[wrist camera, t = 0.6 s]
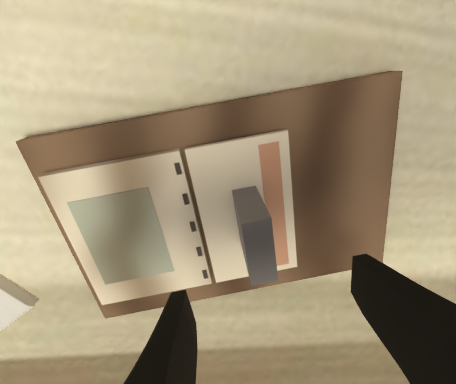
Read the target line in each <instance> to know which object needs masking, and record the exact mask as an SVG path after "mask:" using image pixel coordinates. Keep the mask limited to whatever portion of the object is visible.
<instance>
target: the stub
mask: <svg viewBox="0 0 456 384" xmlns="http://www.w3.org/2000/svg"><path fill="white" fill-rule="evenodd" d="M185 154H186V159H187V163H188V167H189V171H190V175H191V180H192V184H193V188H194V192H195V196H196V201H197V205H198V209H199V213H200V217H201V222H202V226H203V230H204V234H205V238H206V243H207V247H208V251H209V255H210V259H211V264H212V268H213V272H214V276H215V280H216V283H218V282H223V281H228V280H233V279H238V278H243V277H248V276H249V279H250V283H251V286H254V285H259V284H264V283H269V282H274V281H278V273H277V271H278V270H283V269H288V268H294V267H297V256H296V241H295V226H294V211H293V196H292V181H291V166H290V151H289V136H288V130H286V129H285V130H280V131H275V132H269V133H264V134H258V135H253V136H248V137H242V138H237V139H231V140H226V141H221V142H215V143H210V144H205V145H199V146H194V147H188V148H185Z"/></svg>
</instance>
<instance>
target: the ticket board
mask: <svg viewBox="0 0 456 384" xmlns="http://www.w3.org/2000/svg"><path fill="white" fill-rule="evenodd" d="M401 81H402V71H389V72H383V73H378V74H372V75H367V76H361V77H356V78H350V79H345V80H339V81H334V82H328V83H323V84H317V85H312V86H307V87H301V88H296V89H290V90H285V91H279V92H274V93H268V94H263V95H257V96H252V97H246V98H241V99H235V100H230V101H224V102H219V103H213V104H208V105H202V106H197V107H191V108H186V109H180V110H175V111H169V112H164V113H158V114H153V115H147V116H142V117H136V118H131V119H125V120H120V121H114V122H109V123H103V124H98V125H92V126H87V127H81V128H76V129H70V130H65V131H59V132H54V133H49V134H43V135H38V136H32V137H27V138H24V139H21V140H19V141H16V144H17V146H18V148H19V149H20V151H21V153H22V155H23V157H24V159H25V161H26V163H27V165H28V167H29V169H30V171H31V173H32V175H33V177H34V179H35V181H36V183H37V185H38V187H39V189H40V191H41V193H42V195H43V197H44V199H45V201H46V203H47V205H48V207H49V209H50V211H51V213H52V215H53V217H54V218H55V220H56V222H57V224H58V226H59V228H60V230H61V232H62V234H63V236H64V238H65V240H66V242H67V244H68V246H69V248H70V250H71V252H72V254H73V256H74V258H75V260H76V262H77V264H78V266H79V268H80V270H81V272H82V274H83V276H84V278H85V280H86V282H87V284H88V286H89V288H90V289H91V291H92V293H93V295H94V297H95V299H96V301H97V303H98V305H99V307H100V309H101V311H102V313H103V315H104V317H105V318H110V317H115V316H120V315H125V314H130V313H135V312H140V311H145V310H150V309H155V308H160V307H165V305H166V302H167V300H168V298H169V295H170V294H171V292H176V291H181V290H186V292H187V295H188V298H189V302H191V301H196V300H201V299H206V298H211V297H216V296H221V295H226V294H231V293H236V292H241V291H246V290H251V289H256V288H261V287H266V286H271V285H276V284H281V283H286V282H292V281H297V280H302V279H307V278H312V277H317V276H322V275H327V274H332V273H337V272H342V271H347V270H352V256H356V255H361V254H368V255H370V256H372V257H373V258H375V259H377V260H378V261H380V262H383V253H384V243H385V233H386V224H387V214H388V205H389V195H390V186H391V176H392V167H393V157H394V147H395V138H396V128H397V119H398V109H399V100H400V90H401ZM285 129H286V130H288V136H289V151H290V166H291V181H292V196H293V211H294V226H295V241H296V256H297V267H294V268H288V269H283V270H278V271H277V273H278V281H274V282H269V283H264V284H259V285H254V286H251V283H250V279H249V276H248V277H243V278H238V279H233V280H228V281H223V282H218V283H216V280H215V276H214V272H213V268H212V264H211V259H210V255H209V251H208V247H207V243H206V238H205V234H204V230H203V226H202V222H201V217H200V213H199V209H198V205H197V201H196V196H195V192H194V188H193V184H192V180H191V175H190V171H189V167H188V163H187V159H186V154H185V148H188V147H194V146H199V145H205V144H210V143H215V142H221V141H226V140H231V139H237V138H242V137H248V136H253V135H258V134H264V133H269V132H275V131H280V130H285Z"/></svg>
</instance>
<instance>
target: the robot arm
mask: <svg viewBox="0 0 456 384" xmlns="http://www.w3.org/2000/svg"><path fill="white" fill-rule="evenodd" d="M351 293H352V295H353V297H354V299H355V301H356V303H357V305H358V306H359V308H360V310H361V312H362V314H363V315H364V317H365V318H366V320H367V321H368V323H369V324H370V325H371V327H372V328H373V330H374V331H375V333H376V334H377V336H378V337H379V338H380V340H381V341H382V343H383V344H384V345H385V347H386V348H387V350H388V351H389V353H390V354H391V355H392V357H393V358H394V360H395V361H396V363H397V364H398V365H399V367H400V368H401V370H402V371H403V373H404V374H405V376H406V378H407V379H408V381H409V382H410V384H456V304H455V303H453V302H451V301H449V300H447V299H445V298H443V297H441V296H439V295H437V294H436V293H434V292H432V291H430V290H428V289H426V288H424V287H423V286H421V285H419V284H417V283H416V282H414V281H412V280H410V279H409V278H407V277H405V276H403V275H402V274H400V273H398V272H397V271H395V270H393V269H392V268H390V267H388V266H387V265H385V264H383V263H382V262H380V261H378V260H377V259H375V258H373V257H372V256H370V255H368V254H361V255H356V256H352V278H351ZM196 366H197V330H196V321H195V318H194V315H193V311H192V308H191V305H190V302H189V298H188V295H187V292H186V290H181V291H176V292H171V294H170V295H169V298H168V300H167V302H166V305H165V307H164V309H163V312H162V314H161V316H160V318H159V320H158V322H157V325H156V327H155V329H154V331H153V333H152V335H151V337H150V339H149V341H148V342H147V344H146V346H145V348H144V350H143V352H142V353H141V355H140V357H139V359H138V361H137V362H136V364H135V366H134V368H133V369H132V371H131V372H130V374H129V376H128V377H127V379H126V381H125V382H124V384H196Z"/></svg>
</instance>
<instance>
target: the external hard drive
mask: <svg viewBox="0 0 456 384" xmlns="http://www.w3.org/2000/svg"><path fill="white" fill-rule="evenodd" d="M38 300H39V299H38V298H36V297H35V296H33V295H32V294H30V293H29V292H27V291H25V290H24V289H22V288H21V287H19V286H18V285H16V284H15V283H13V282H12V281H10V280H9V279H7V278H6V277H4V276H2V275H1V274H0V331H1V330H3V329H4V328H5V327H7V326H8V325H10V324H11V323H12V322H14V321H15V320H16V319H18V318H19V317H20V316H22V315H23V314H25V313H26V312H27V311H29V310H30V309H31V308H33V307H34V305H35V304H36V303H37V301H38Z"/></svg>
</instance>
